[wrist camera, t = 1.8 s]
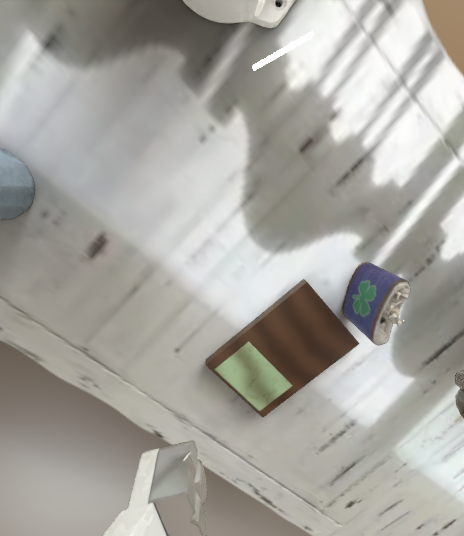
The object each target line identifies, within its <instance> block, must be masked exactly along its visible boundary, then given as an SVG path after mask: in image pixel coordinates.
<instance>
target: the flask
mask: <svg viewBox="0 0 464 536" xmlns="http://www.w3.org/2000/svg"><path fill="white" fill-rule="evenodd" d="M410 291H411V288H410V284H409V282H408V281H406V280H404V279H403V278H400V277H398V276H396V275H394V274H392V273H389V272H387V271H385V270H384V269H381V268H379V267H378V266H375V265H373V264H371V263H367V262H364V263H361V264H360V265H359V266H358V267H357V269H356V270H355V272H354V274H353V276H352V278H351V280H350V282H349V285H348V289H347V292H346V296H345V300H344V303H343V306H342V307H343V314H344V316H345V317H346V318H347V319H349V320H350V321H351V322H352V323H353V324H354V325H355V326H356V327H357V328H358V329H359V330H360V331H361V332H362V333H364V334H365V335H366V336H367V337H368V338H369V339H370V340H371V341H372V342H373V343H374V344H376V345H383V344H385V343H387V341H388V340H389V337H390V333H391V329H392V326H393V323H394V324H395V323H397V325H398V326H401V324H402V323H404V320H403V321H399V319H400V318H401V317H399V310H400V308H401V306H402V304H403V302H404V301H405V299H407V298H408V296H409V294H410Z"/></svg>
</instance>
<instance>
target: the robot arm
mask: <svg viewBox="0 0 464 536" xmlns="http://www.w3.org/2000/svg"><path fill="white" fill-rule="evenodd" d="M182 1H183V2H184V3H185V4H186V5H187V6H188V7H189V8H190V9H192V10H193V11H194V12H196V13H197V14H199V15H200V16H202V17H204V18H206V19H209V20H211V21H215V22H219V23H239V22H252V23H255V24H257V25H260V26H263V27H266V28H274V27H276V26H277V25H278V24H279V23H280V22H281V21H282V19H283V18H284V16H285V15H286V13H287V12H288V10H289V9H290V8H291V6H292V5H293V3H294V2H295V0H182ZM276 2H279V3H280V4H281V7H277V6H276V5H275V3H276ZM312 36H313V31H312V32H310V33H308V34H307V35H305V36H303V37H301V38H300V39H298V40H296V41H295V42H293V43H291V44H289V45H288V46H286V47H284V48H282V49H281V50H279V51H277V52H275V53H274V54H272V55H270V56H268V57H267V58H265V59H263V60H261V61H260V62H258V63H256V64H254V66H253V71H255V70H256V69H258V68H260V67H262V66H263V65H265V64H267V63H269V62H270V61H272V60H274V59H276V58H277V57H279V56H281V55H283V54H284V53H286V52H288V51H290V50H291V49H293V48H295V47H297V46H298V45H300V44H302V43H304V42H305V41H307V40H309V39H311V37H312ZM455 384H456V385H457V386H458V387H459V388H460V389H459V391H458V392H457V394H456V406H457V408H458V410H459V412H460V414H461V416H462V417H463V418H464V370H463V371H459V372H457V374H456V375H455ZM206 499H207V489H206V479H205V473H204V469H203V465H202V462H201V461H200V460H198V459H197V447H196V445H195V442H194V441H188V442H183V443H179V444H175V445H170V446H166V447H161V448H159V449H155V450H151V451H146V452H144V453H143V454H142V455H141V457H140V461H139V465H138V469H137V473H136V476H135V480H134V484H133V488H132V492H131V496H130V500H129V503H128V507H127V510H123V511H121V512H120V514H119V515H118V516H117V518H116V519H115V520H114V521H113V523H112V524H111V525H110V527H109V528H108V529H107V531H106V532H105V533H104V534H103V536H206V519H207V516H206V513H205V510H204V507H203V504H204V502H205V501H206Z"/></svg>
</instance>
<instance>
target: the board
mask: <svg viewBox="0 0 464 536" xmlns="http://www.w3.org/2000/svg"><path fill="white" fill-rule="evenodd" d="M358 344H359V343H358V341H357V340H356V339H355V338H354V337H353V336H352V334H351V333H350V332H349V331H348V330H347V328H346V327H345V326H344V325H343V324H342V323H341V321H340V320H339V319H338V318H337V317H336V316H335V314H334V313H333V312H332V311H331V310H330V308H329V307H328V306H327V305H326V304H325V303H324V301H323V300H322V299H321V298H320V297H319V296H318V294H317V293H316V292H315V291H314V290H313V288H312V287H311V286H310V285H309V284H308V283H307V282H306V281H305V280H304V279H303V280H302V281H301V282H300V283H298V284H297V285H296V286H295V287H294V288H292V289H291V290H290V291H289V292H288V293H286V294H285V295H284V296H283V297H282V298H280V299H279V300H278V301H277V302H275V303H274V304H273V305H272V306H271V307H269V308H268V309H267V310H266V311H265V312H263V313H262V314H261V315H260V316H258V317H257V318H256V319H255V320H254V321H252V322H251V323H250V324H249V325H248V326H246V327H245V328H244V329H243V330H242V331H240V332H239V333H238V334H237V335H235V336H234V337H233V338H232V339H231V340H229V341H228V342H227V343H226V344H225V345H223V346H222V347H221V348H220V349H218V350H217V351H216V352H215V353H214V354H212V355H211V356H210V357H209V358H208V359H206V366H208V367H209V368H210V369H211V370H212V371H213V372H214V373H215V374H216V375H217V376H218V377H219V378H221V379H222V380H223V381H224V382H225V383H226V384H227V385H228V386H229V387H230V388H231V389H232V390H234V391H235V392H236V393H237V394H238V395H239V396H240V397H241V398H242V399H243V400H244V401H245V402H247V403H248V404H249V405H250V406H251V407H252V408H253V409H254V410H255V411H256V412H257V413H258V414H260V415H261V416H262V417H264V416H266V415H267V414H268V413H270V412H271V411H272V410H273V409H275V408H276V407H277V406H279V405H280V404H281V403H283V402H284V401H285V400H287V399H288V398H289V397H290V396H292V395H293V394H294V393H296V392H297V391H298V390H300V389H301V388H302V387H303V386H305V385H306V384H307V383H309V382H310V381H311V380H313V379H314V378H315V377H317V376H318V375H319V374H320V373H322V372H323V371H324V370H326V369H327V368H328V367H330V366H331V365H332V364H334V363H335V362H336V361H337V360H339V359H340V358H341V357H343V356H344V355H345V354H347V353H348V352H349V351H351V350H352V349H353V348H354V347H356V346H357V345H358Z"/></svg>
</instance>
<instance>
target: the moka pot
mask: <svg viewBox="0 0 464 536" xmlns="http://www.w3.org/2000/svg"><path fill="white" fill-rule="evenodd" d="M34 194H35V185H34V181H33V178H32V176H31V173H30V172H29V170H28V168H27V166H26V165H25V164H24V163H23V162H22V161H21V160H20V159H18V158H17V157H16V156H14V155H13V154H11V153H9V152H8V151H6V150H4V149H0V219H14V218H16V217H18V216H19V215H21V214H22V213H24V212H25V211H26V210H28V209H29V207H30V205H31V204H32V202H33V198H34Z"/></svg>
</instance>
